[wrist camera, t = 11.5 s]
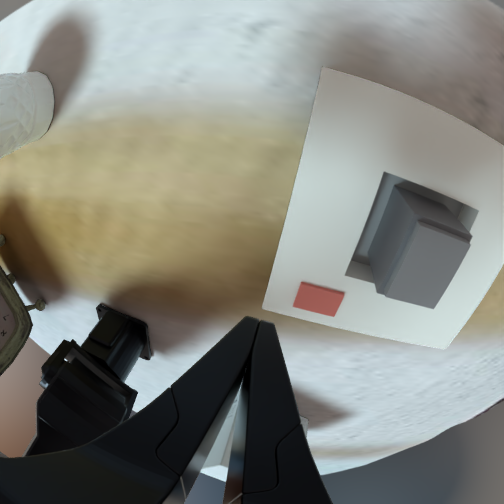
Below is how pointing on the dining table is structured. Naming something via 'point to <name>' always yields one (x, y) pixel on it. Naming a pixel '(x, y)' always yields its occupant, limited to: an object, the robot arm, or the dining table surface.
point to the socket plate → (373, 205)
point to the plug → (416, 249)
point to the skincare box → (227, 445)
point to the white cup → (24, 109)
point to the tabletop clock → (13, 319)
